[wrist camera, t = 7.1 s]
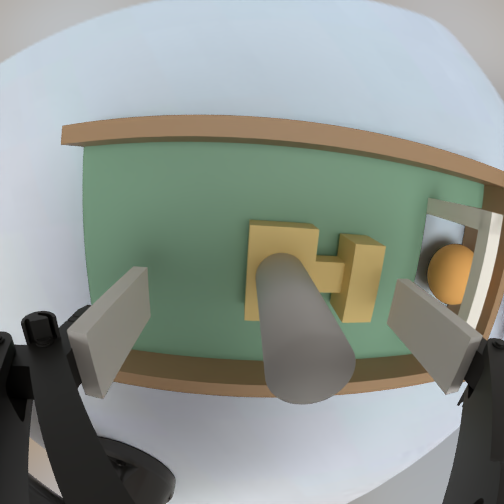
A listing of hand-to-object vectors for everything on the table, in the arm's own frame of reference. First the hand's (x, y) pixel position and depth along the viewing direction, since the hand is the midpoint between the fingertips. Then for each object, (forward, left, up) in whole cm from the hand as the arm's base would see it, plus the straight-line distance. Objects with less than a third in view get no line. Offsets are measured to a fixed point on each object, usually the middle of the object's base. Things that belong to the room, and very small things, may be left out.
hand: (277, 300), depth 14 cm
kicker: (+2, -1, -5) cm, 6 cm away
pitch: (+3, -1, -7) cm, 8 cm away
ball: (+14, -7, -5) cm, 16 cm away
